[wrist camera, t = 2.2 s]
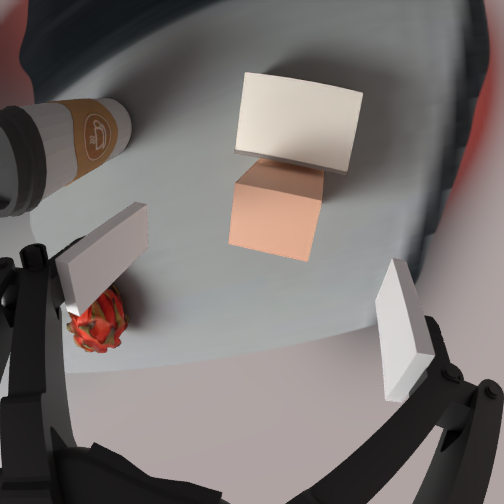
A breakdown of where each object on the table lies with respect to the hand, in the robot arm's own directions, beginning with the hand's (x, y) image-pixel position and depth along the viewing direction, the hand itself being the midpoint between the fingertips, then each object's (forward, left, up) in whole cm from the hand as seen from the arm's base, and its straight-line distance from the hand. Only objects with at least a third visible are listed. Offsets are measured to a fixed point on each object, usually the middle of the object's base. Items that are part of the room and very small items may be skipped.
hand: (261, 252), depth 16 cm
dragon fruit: (+20, -21, -13) cm, 32 cm away
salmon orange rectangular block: (0, 0, -13) cm, 13 cm away
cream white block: (-6, 0, -13) cm, 14 cm away
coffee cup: (-3, -19, -13) cm, 23 cm away
